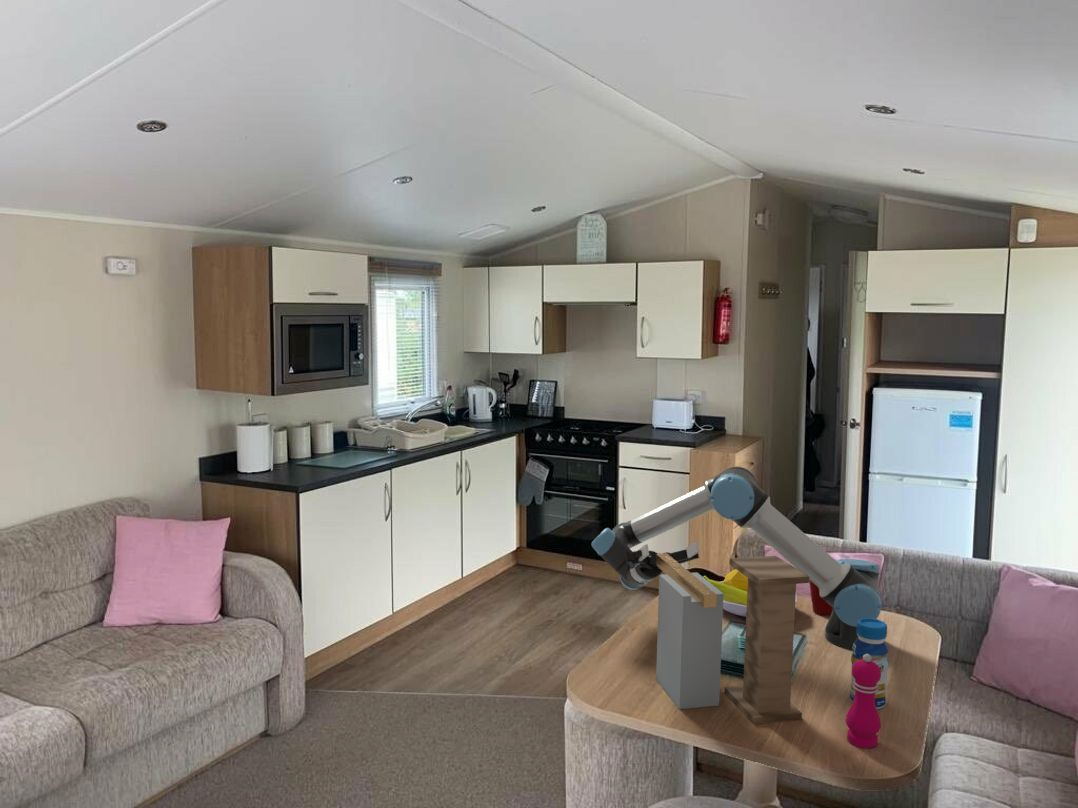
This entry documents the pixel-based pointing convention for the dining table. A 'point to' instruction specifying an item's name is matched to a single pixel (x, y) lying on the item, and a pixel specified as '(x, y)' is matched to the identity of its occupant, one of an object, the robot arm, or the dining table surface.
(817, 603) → the plastic cup
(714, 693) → the block
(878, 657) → the beverage bottle
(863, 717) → the pepper mill
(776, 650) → the walnut stand
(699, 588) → the wooden bar
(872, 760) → the dining table surface
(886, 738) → the dining table surface
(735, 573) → the fruit bowl
